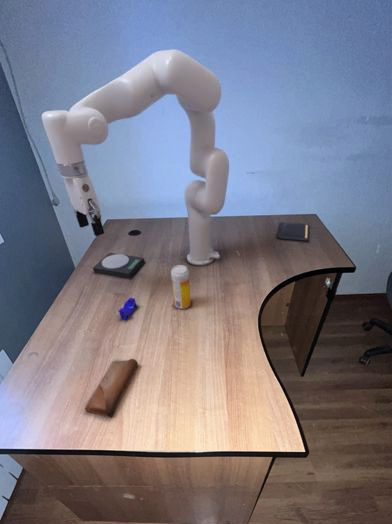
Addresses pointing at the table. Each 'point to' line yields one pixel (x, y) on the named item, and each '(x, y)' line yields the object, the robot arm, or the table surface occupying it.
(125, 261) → the scale
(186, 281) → the pill bottle
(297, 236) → the black flat rectangular slab
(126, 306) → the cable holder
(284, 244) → the table surface
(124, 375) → the sunglasses case
